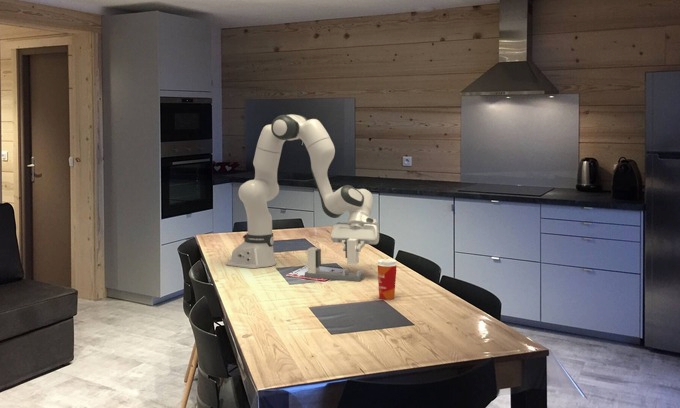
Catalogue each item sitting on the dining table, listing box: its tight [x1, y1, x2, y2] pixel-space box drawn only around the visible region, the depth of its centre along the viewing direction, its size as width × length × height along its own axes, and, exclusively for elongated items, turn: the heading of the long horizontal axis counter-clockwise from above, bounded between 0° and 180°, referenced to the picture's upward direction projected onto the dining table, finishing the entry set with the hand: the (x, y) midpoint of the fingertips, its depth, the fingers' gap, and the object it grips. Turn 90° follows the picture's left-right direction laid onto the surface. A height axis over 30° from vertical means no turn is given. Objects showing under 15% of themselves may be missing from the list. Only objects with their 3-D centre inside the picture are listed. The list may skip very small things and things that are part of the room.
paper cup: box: [376, 258, 398, 301], centre depth 247 cm, size 8×8×14 cm
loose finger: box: [344, 239, 360, 266], centre depth 275 cm, size 4×5×10 cm
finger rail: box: [304, 246, 364, 282], centre depth 278 cm, size 24×5×12 cm, turn 73°
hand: (351, 250), depth 274 cm, fingers closed on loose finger, 4 cm apart
